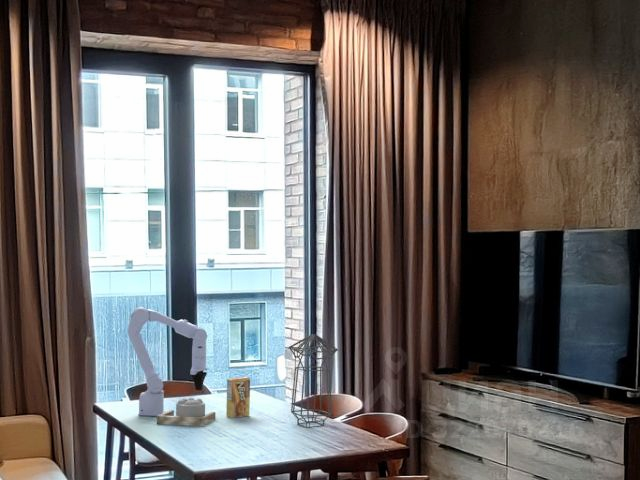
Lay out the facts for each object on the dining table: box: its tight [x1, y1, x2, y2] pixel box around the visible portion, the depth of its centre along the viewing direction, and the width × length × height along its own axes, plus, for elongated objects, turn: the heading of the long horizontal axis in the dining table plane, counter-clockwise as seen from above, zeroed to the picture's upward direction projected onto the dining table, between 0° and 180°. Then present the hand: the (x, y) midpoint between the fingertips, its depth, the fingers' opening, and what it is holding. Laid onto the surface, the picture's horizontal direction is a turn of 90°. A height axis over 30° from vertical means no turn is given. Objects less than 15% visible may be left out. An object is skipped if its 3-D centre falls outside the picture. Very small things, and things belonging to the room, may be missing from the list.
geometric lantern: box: [287, 333, 340, 429], centre depth 337 cm, size 16×16×35 cm
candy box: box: [225, 376, 251, 419], centre depth 353 cm, size 9×4×15 cm, turn 129°
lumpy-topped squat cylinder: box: [175, 397, 206, 417], centre depth 342 cm, size 10×13×9 cm
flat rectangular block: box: [156, 409, 216, 427], centre depth 341 cm, size 19×14×3 cm
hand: (198, 389), depth 360 cm, fingers closed
